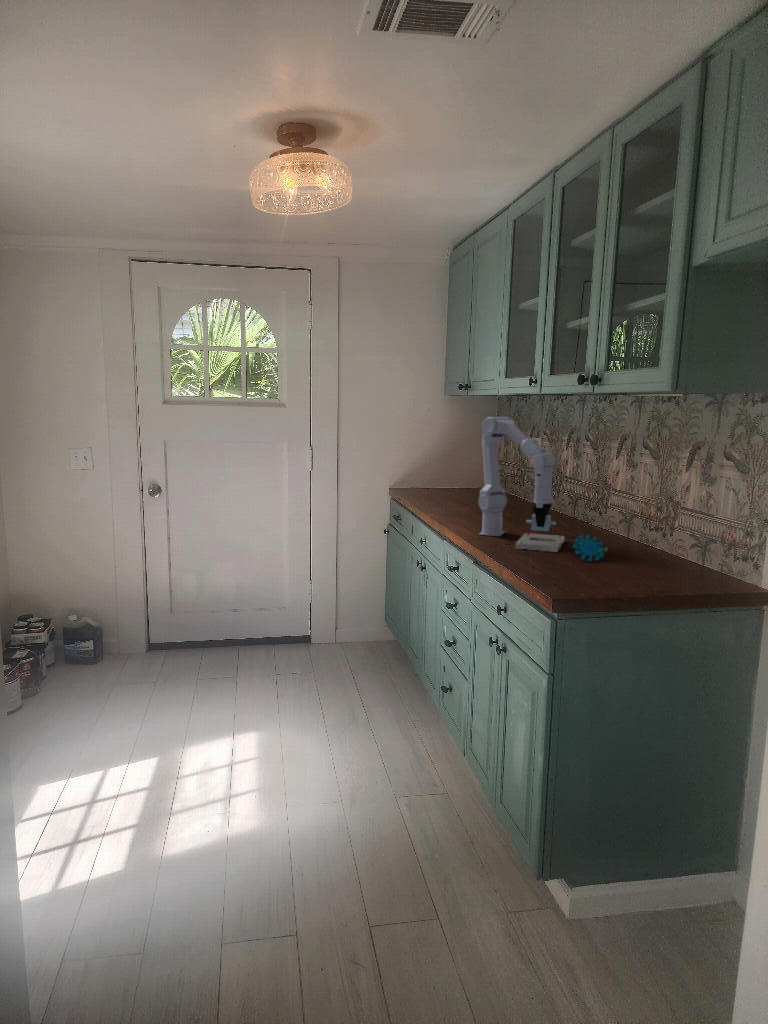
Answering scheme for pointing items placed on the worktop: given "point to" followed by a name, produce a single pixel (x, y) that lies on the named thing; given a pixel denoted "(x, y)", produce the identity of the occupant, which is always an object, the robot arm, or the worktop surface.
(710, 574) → the worktop surface
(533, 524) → the servo
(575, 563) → the worktop surface
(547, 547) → the plate
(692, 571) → the worktop surface
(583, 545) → the gear
